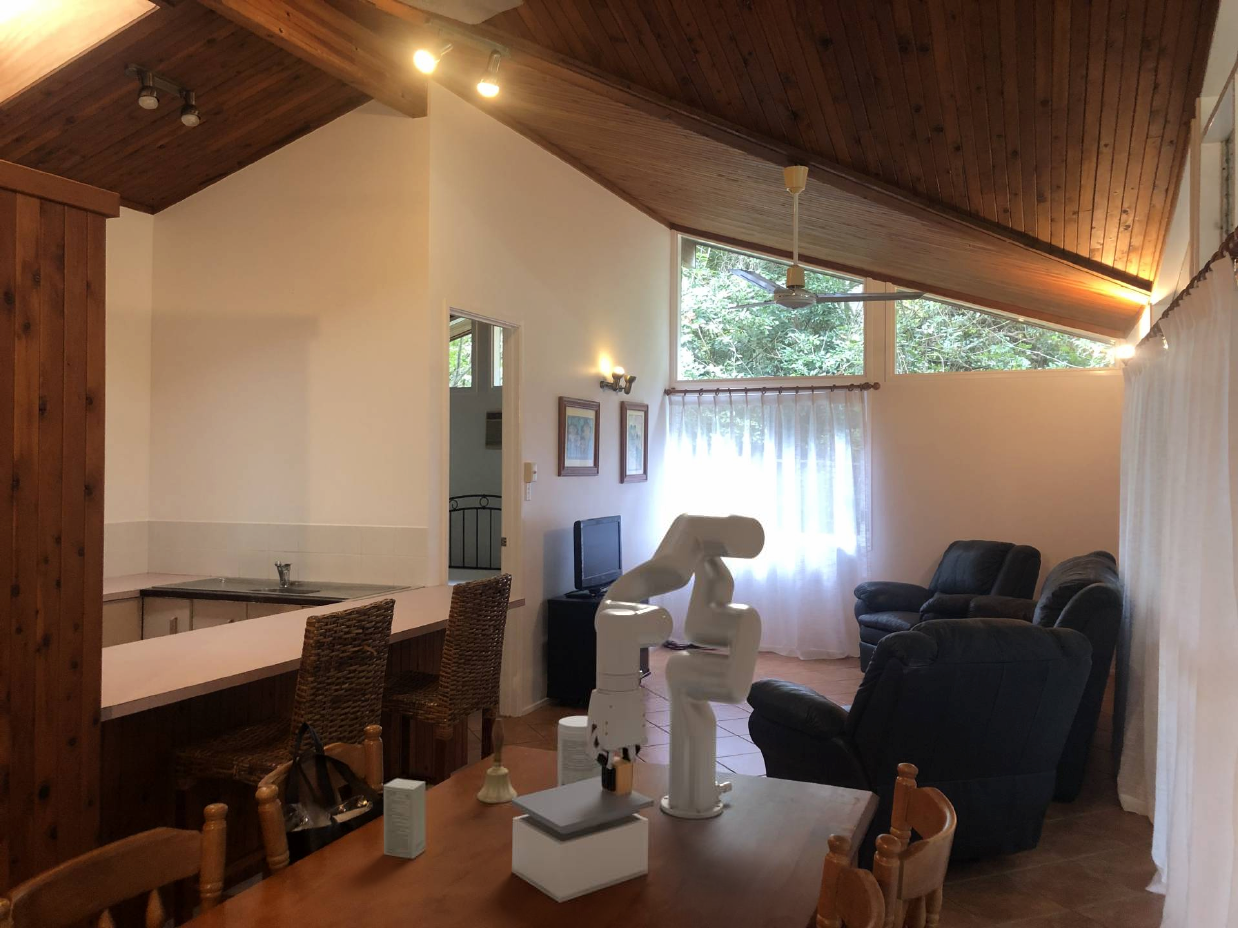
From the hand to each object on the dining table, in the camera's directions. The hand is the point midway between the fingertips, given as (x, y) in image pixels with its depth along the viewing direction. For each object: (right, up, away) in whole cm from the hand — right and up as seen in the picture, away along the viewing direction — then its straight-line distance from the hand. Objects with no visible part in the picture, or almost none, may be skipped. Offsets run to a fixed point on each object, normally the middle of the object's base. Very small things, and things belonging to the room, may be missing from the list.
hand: (617, 785), depth 159 cm
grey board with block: (-6, -3, -5) cm, 8 cm away
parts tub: (-6, -13, -5) cm, 15 cm away
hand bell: (-25, -13, +31) cm, 42 cm away
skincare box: (-37, -13, +2) cm, 40 cm away
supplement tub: (-8, -14, +36) cm, 39 cm away
